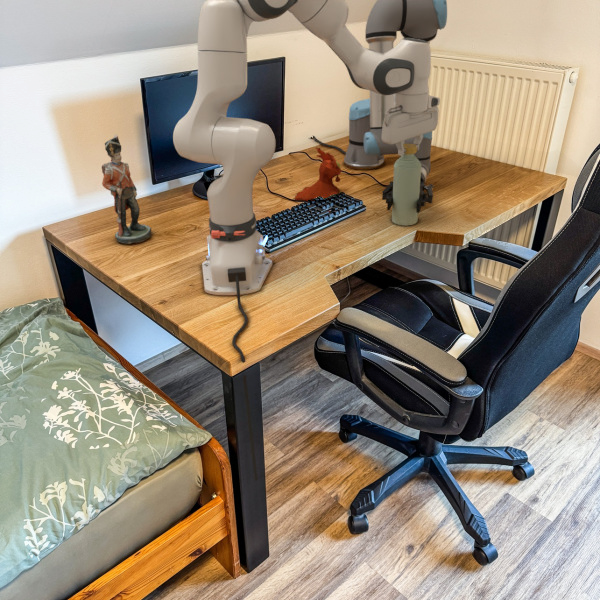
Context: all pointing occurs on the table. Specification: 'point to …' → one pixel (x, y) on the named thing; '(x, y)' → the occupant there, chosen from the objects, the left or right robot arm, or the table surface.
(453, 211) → the table surface
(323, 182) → the toy
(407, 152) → the cap
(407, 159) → the bottle
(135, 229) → the figurine
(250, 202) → the left robot arm
